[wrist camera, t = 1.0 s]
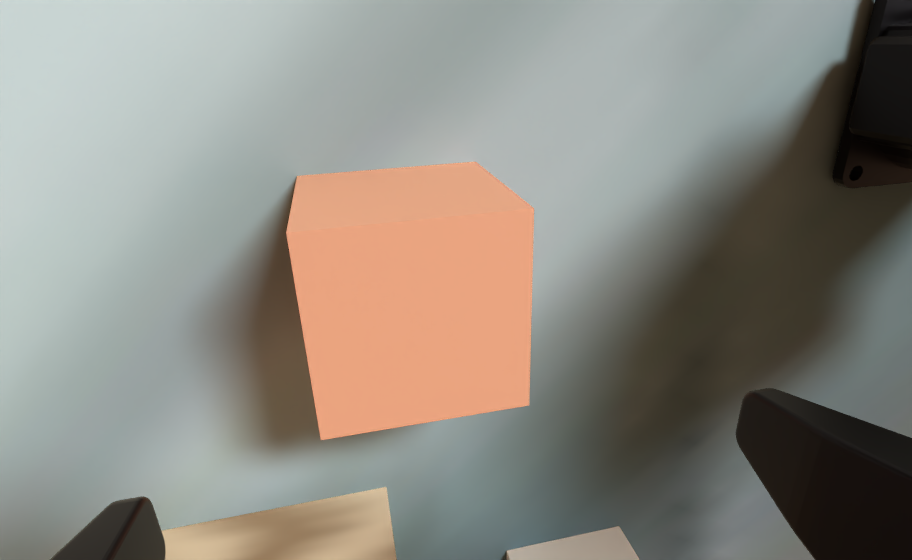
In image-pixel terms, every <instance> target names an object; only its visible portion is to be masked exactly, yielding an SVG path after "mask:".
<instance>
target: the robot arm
mask: <svg viewBox="0 0 912 560" xmlns="http://www.w3.org/2000/svg"><path fill="white" fill-rule="evenodd" d="M851 170H852V172H851ZM850 172H851V174H850ZM849 174H850V175H849ZM833 180H834V182H835V183H836V184H837V185H840V186H844V187H848V188H858V187H868V186H878V185H888V184H897V183H907V182H912V0H875V4H874V8H873V12H872V16H871V20H870V24H869V28H868V32H867V36H866V41H865V45H864V49H863V53H862V57H861V61H860V65H859V69H858V73H857V77H856V81H855V85H854V89H853V93H852V97H851V101H850V106H849V110H848V114H847V118H846V122H845V126H844V130H843V134H842V138H841V142H840V146H839V150H838V154H837V158H836V162H835V166H834V170H833ZM736 439H737V442H738V445H739V447H740V449H741V450H742V452H743V454H744V455H745V457H746V458H747V460H748V461H749V463H750V464H751V466H752V468H753V469H754V471H755V472H756V474H757V475H758V477H759V479H760V480H761V482H762V483H763V485H764V486H765V488H766V489H767V491H768V493H769V494H770V496H771V497H772V499H773V500H774V502H775V504H776V505H777V507H778V508H779V510H780V511H781V513H782V514H783V516H784V518H785V519H786V521H787V522H788V523H789V525H790V526H791V528H792V529H793V531H794V532H795V534H796V535H797V536H798V538H799V539H800V540H801V542H802V543H803V545H804V546H805V547H806V549H807V550H808V551H809V552H810V554H811V555H812V556H813V558H814V559H815V560H912V438H910V437H907V436H904V435H901V434H899V433H896V432H893V431H890V430H888V429H885V428H882V427H879V426H877V425H874V424H871V423H868V422H865V421H863V420H860V419H857V418H854V417H852V416H849V415H846V414H843V413H840V412H838V411H835V410H832V409H829V408H827V407H824V406H821V405H818V404H815V403H813V402H810V401H807V400H804V399H802V398H799V397H796V396H793V395H790V394H788V393H785V392H782V391H779V390H777V389H773V388H766V389H760V390H754V391H750V392H748V393H746V395H745V396H744V398H743V401H742V405H741V410H740V414H739V419H738V424H737V428H736ZM165 553H166V549H165V540H164V537H163V534H162V531H161V528H160V525H159V523H158V520H157V517H156V514H155V511H154V508H153V505H152V503H151V501H150V500H149V499H148V498H146V497H136V498H130V499H124V500H119V501H116V502H113V503H111V504H110V505H109V506H107V507H106V508H105V509H104V510H103V511H102V512H101V513H100V514H99V515H98V516H97V517H95V518H94V519H93V520H92V521H91V522H90V523H89V524H88V525H87V526H86V527H85V528H84V529H83V530H81V531H80V532H79V533H78V534H77V535H76V536H75V537H74V538H73V539H72V540H71V541H70V542H69V543H67V544H66V545H65V546H64V547H63V548H62V549H61V550H60V551H59V552H58V553H57V554H56V555H54V556H53V557H52V558H51V559H50V560H165Z"/></svg>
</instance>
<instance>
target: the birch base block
mask: <svg viewBox="0 0 912 560" xmlns="http://www.w3.org/2000/svg"><path fill="white" fill-rule="evenodd" d="M162 534H163V537H164V540H165V549H166V553H165V560H397V559H396V552H395V545H394V538H393V531H392V524H391V517H390V510H389V503H388V495H387V488H386V487H383V488H378V489H373V490H368V491H363V492H358V493H352V494H347V495H342V496H337V497H332V498H327V499H322V500H316V501H311V502H306V503H301V504H296V505H291V506H286V507H281V508H275V509H270V510H265V511H260V512H255V513H250V514H245V515H239V516H234V517H229V518H224V519H219V520H214V521H209V522H204V523H198V524H193V525H188V526H183V527H178V528H173V529H168V530H163V531H162Z"/></svg>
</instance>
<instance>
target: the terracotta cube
mask: <svg viewBox="0 0 912 560" xmlns="http://www.w3.org/2000/svg"><path fill="white" fill-rule="evenodd" d="M533 229H534V208H533V207H532V206H530V205H529V204H528V203H527V202H525V201H524V200H523V199H522V198H520V197H519V196H518V195H517V194H515V193H514V192H513V191H512V190H510V189H509V188H508V187H507V186H505V185H504V184H503V183H502V182H500V181H499V180H498V179H497V178H495V177H494V176H493V175H492V174H490V173H489V172H488V171H487V170H485V169H484V168H483V167H482V166H480V165H479V164H478V163H477V162H465V163H453V164H440V165H428V166H415V167H403V168H391V169H378V170H366V171H353V172H341V173H329V174H316V175H304V176H297V179H296V184H295V190H294V195H293V200H292V205H291V210H290V215H289V221H288V226H287V231H286V235H287V241H288V247H289V253H290V259H291V265H292V271H293V277H294V283H295V288H296V294H297V300H298V306H299V312H300V318H301V324H302V330H303V336H304V342H305V348H306V354H307V360H308V366H309V372H310V378H311V384H312V390H313V396H314V402H315V408H316V414H317V420H318V426H319V432H320V438H321V440H325V439H331V438H337V437H343V436H349V435H355V434H361V433H367V432H373V431H379V430H385V429H391V428H397V427H403V426H409V425H415V424H421V423H427V422H433V421H439V420H445V419H451V418H457V417H463V416H469V415H475V414H481V413H486V412H492V411H498V410H504V409H510V408H516V407H522V406H528V405H529V390H530V350H531V309H532V269H533Z"/></svg>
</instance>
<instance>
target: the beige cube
mask: <svg viewBox="0 0 912 560" xmlns="http://www.w3.org/2000/svg"><path fill="white" fill-rule="evenodd" d="M507 560H639V558H638V556H637V555H636V553H635V551H634V550H633V548H632V546H631V545H630V543H629V542H628V540H627V538H626V537H625V535H624V533H623V532H622V530H621V528H620V527H619V526H617V527H613V528H608V529H604V530H599V531H594V532H590V533H585V534H581V535H576V536H571V537H567V538H562V539H558V540H553V541H548V542H544V543H539V544H535V545H530V546H526V547H521V548H516V549H512V550H507Z"/></svg>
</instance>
